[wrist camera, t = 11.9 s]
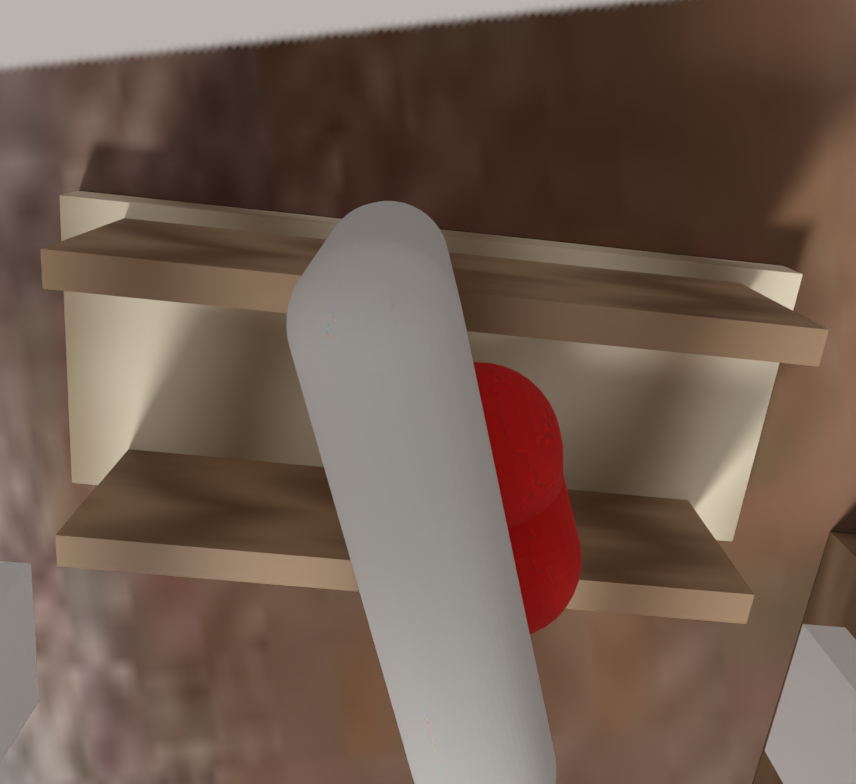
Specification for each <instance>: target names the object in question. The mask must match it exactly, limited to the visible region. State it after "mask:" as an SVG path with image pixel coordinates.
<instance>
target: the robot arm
mask: <svg viewBox="0 0 856 784" xmlns="http://www.w3.org/2000/svg"><path fill="white" fill-rule="evenodd" d="M38 702H39V692H38V675H37V658H36V641H35V625H34V608H33V591H32V574H31V564H29V563H16V562H3V561H0V762H1V760H2V759H3V757H4V756H5V754H6V752H7V751H8V749H9V748H10V746H11V745H12V743H13V741H14V740H15V738H16V737H17V735H18V733H19V732H20V730H21V729H22V727H23V726H24V724H25V722H26V721H27V719H28V718H29V716H30V714H31V713H32V711H33V710H34V708H35V707H36V705H37V703H38ZM765 752H766V754H767V756H768V758H769V759H770V761H771V763H772V765H773V766H774V768H775V770H776V772H777V773H778V775H779V777H780V779H781V780H782V782H783V784H856V639H855V638H854V637H853V636H852V635H851V634H850V632H849V631H848V630H847V629H846V628H845V627H834V626H821V625H809V624H803V625H802V628H801V632H800V635H799V638H798V641H797V645H796V648H795V651H794V655H793V658H792V661H791V665H790V668H789V671H788V675H787V678H786V681H785V685H784V688H783V691H782V695H781V698H780V701H779V704H778V708H777V711H776V714H775V718H774V721H773V724H772V728H771V731H770V734H769V738H768V741H767V744H766V748H765Z"/></svg>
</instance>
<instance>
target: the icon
mask: <svg viewBox="0 0 856 784" xmlns="http://www.w3.org/2000/svg"><path fill="white" fill-rule="evenodd" d="M286 328H287V338H288V343H289V347H290V350H291V354H292V357H293V361H294V364H295V368H296V371H297V375H298V378H299V382H300V385H301V389H302V392H303V396H304V399H305V403H306V406H307V410H308V413H309V417H310V420H311V424H312V427H313V431H314V434H315V438H316V441H317V445H318V448H319V452H320V455H321V459H322V462H323V466H324V469H325V473H326V476H327V480H328V483H329V486H330V490H331V493H332V497H333V500H334V504H335V507H336V511H337V514H338V518H339V521H340V525H341V528H342V532H343V535H344V539H345V542H346V546H347V549H348V553H349V556H350V560H351V563H352V567H353V570H354V574H355V577H356V581H357V584H358V588H359V591H360V595H361V598H362V602H363V605H364V609H365V612H366V616H367V619H368V623H369V626H370V630H371V633H372V637H373V640H374V644H375V647H376V651H377V654H378V658H379V661H380V665H381V668H382V671H383V675H384V678H385V682H386V685H387V689H388V692H389V696H390V699H391V703H392V706H393V710H394V713H395V717H396V720H397V724H398V727H399V731H400V734H401V738H402V741H403V745H404V748H405V752H406V755H407V759H408V762H409V766H410V769H411V773H412V776H413V780H414V783H415V784H555V783H556V759H555V753H554V749H553V744H552V739H551V734H550V729H549V725H548V720H547V715H546V710H545V705H544V701H543V696H542V691H541V686H540V681H539V676H538V672H537V667H536V662H535V657H534V652H533V648H532V643H531V638H530V634H532V633H534V632H536V631H538V630H540V629H542V628H544V627H546V626H547V625H548V624H550V623H551V622H552V621H554V620H555V619H556V618H557V617H558V616H559V615H560V614H561V613H562V612H563V611H564V609H565V608H566V607H567V605H568V604H569V602H570V600H571V599H572V597H573V595H574V593H575V590H576V588H577V585H578V583H579V578H580V573H581V559H582V553H581V546H580V541H579V537H578V532H577V528H576V524H575V520H574V516H573V512H572V508H571V504H570V499H569V495H568V491H567V487H566V483H565V479H564V474H563V442H562V437H561V432H560V428H559V424H558V420H557V417H556V414H555V412H554V410H553V408H552V406H551V404H550V402H549V401H548V400H547V398H546V397H545V396H544V394H543V393H542V391H541V390H540V389H539V388H538V387H537V386H536V385H535V384H534V383H533V382H532V381H530V380H529V379H528V378H526V377H525V376H523V375H522V374H520V373H519V372H517V371H515V370H512V369H510V368H508V367H505V366H502V365H497V364H493V363H484V362H473V359H472V354H471V349H470V344H469V340H468V335H467V330H466V325H465V320H464V316H463V311H462V306H461V302H460V298H459V294H458V289H457V285H456V281H455V277H454V273H453V269H452V264H451V260H450V256H449V252H448V248H447V244H446V241H445V239H444V236H443V234H442V233H441V231H440V229H439V228H438V226H437V225H436V224H435V222H434V221H433V220H432V219H431V218H430V217H429V216H428V215H426V214H425V213H424V212H422V211H421V210H419V209H418V208H416V207H414V206H411V205H409V204H406V203H402V202H397V201H380V202H374V203H370V204H366V205H363V206H361V207H359V208H357V209H355V210H353V211H351V212H350V213H349V214H347V215H346V216H345V217H344V218H342V219H341V220H340V222H339V223H338V224H337V225H336V226H335V228H334V229H333V231H332V232H331V234H330V235H329V236H328V238H327V239H326V241H325V242H324V244H323V245H322V247H321V248H320V249H319V251H318V252H317V254H316V255H315V257H314V258H313V260H312V261H311V263H310V264H309V265H308V267H307V268H306V270H305V271H304V273H303V274H302V276H301V277H300V279H299V280H298V282H297V284H296V286H295V288H294V290H293V292H292V295H291V298H290V301H289V305H288V310H287V321H286Z"/></svg>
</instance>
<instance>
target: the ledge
mask: <svg viewBox="0 0 856 784" xmlns="http://www.w3.org/2000/svg"><path fill="white" fill-rule="evenodd" d="M59 196H60V219H61V241H60V242H58V243H55V244H52V245H50V246H47V247H44V248H41V268H42V287H43V289H50V290H60V291H64V310H65V333H66V356H67V379H68V401H69V424H70V447H71V470H72V483H81V484H92V485H98V486H97V487H96V488H95V489H94V490H93V492H92V493H91V494H90V495H89V496H88V497H87V499H86V500H85V501H84V502H83V503H82V505H81V506H80V507H79V508H78V509H77V510H76V512H75V513H74V514H73V515H72V516H71V518H70V519H69V520H68V521H67V522H66V523H65V525H64V526H63V527H62V528H61V529H60V530H59V532H58V533H57V534H56V553H57V566H61V567H72V568H84V569H96V570H108V571H120V572H132V573H144V574H156V575H168V576H180V577H192V578H204V579H216V580H228V581H240V582H252V583H264V584H276V585H288V586H300V587H312V588H324V589H336V590H348V591H359V588H358V584H357V581H356V577H355V574H354V570H353V567H352V563H351V560H350V556H349V553H348V549H347V546H346V542H345V539H344V535H343V532H342V528H341V525H340V521H339V518H338V514H337V511H336V507H335V504H334V500H333V497H332V493H331V490H330V486H329V483H328V480H327V476H326V473H325V469H324V466H323V462H322V459H321V455H320V452H319V448H318V445H317V441H316V438H315V434H314V431H313V427H312V424H311V420H310V417H309V413H308V410H307V406H306V403H305V399H304V396H303V392H302V389H301V385H300V382H299V378H298V375H297V371H296V368H295V364H294V361H293V357H292V354H291V350H290V347H289V343H288V338H287V328H286V321H287V310H288V305H289V301H290V298H291V295H292V292H293V290H294V288H295V286H296V284H297V282H298V280H299V279H300V277H301V276H302V274H303V273H304V271H305V270H306V268H307V267H308V265H309V264H310V263H311V261H312V260H313V258H314V257H315V255H316V254H317V252H318V251H319V249H320V248H321V247H322V245H323V244H324V242H325V241H326V239H327V238H328V236H329V235H330V234H331V232H332V231H333V229H334V228H335V226H336V225H337V224H338V223H339V222H340V220H341V219H339V218H330V217H320V216H311V215H302V214H292V213H283V212H274V211H264V210H255V209H245V208H236V207H227V206H217V205H208V204H198V203H189V202H180V201H170V200H161V199H151V198H142V197H133V196H123V195H114V194H105V193H95V192H86V191H75V192H71V193H67V194H62V195H59ZM440 231H441V233H442V234H443V236H444V239H445V241H446V244H447V248H448V252H449V256H450V260H451V264H452V269H453V273H454V277H455V281H456V285H457V289H458V294H459V298H460V302H461V306H462V311H463V316H464V320H465V325H466V330H467V335H468V340H469V344H470V349H471V354H472V359H473V362H484V363H493V364H497V365H502V366H505V367H508V368H510V369H512V370H515V371H517V372H519V373H520V374H522V375H523V376H525V377H526V378H528V379H529V380H530V381H532V382H533V383H534V384H535V385H536V386H537V387H538V388H539V389H540V390H541V391H542V393H543V394H544V396H545V397H546V398H547V400H548V401H549V402H550V404H551V406H552V408H553V410H554V412H555V414H556V417H557V420H558V424H559V428H560V432H561V437H562V442H563V474H564V479H565V483H566V487H567V491H568V495H569V499H570V504H571V508H572V512H573V516H574V520H575V524H576V528H577V532H578V537H579V541H580V546H581V553H582V559H581V573H580V578H579V583H578V585H577V588H576V590H575V593H574V595H573V597H572V599H571V600H570V602H569V604H568V605H567V607H566V608H565V609H575V610H587V611H599V612H611V613H623V614H635V615H647V616H659V617H671V618H683V619H695V620H707V621H719V622H731V623H743V624H746V623H747V619H748V616H749V612H750V609H751V605H752V602H753V598H754V594H753V592H752V591H751V589H750V588H749V586H748V585H747V584H746V582H745V581H744V579H743V578H742V576H741V575H740V574H739V572H738V571H737V569H736V568H735V566H734V565H733V564H732V562H731V561H730V559H729V558H728V556H727V555H726V554H725V552H724V551H723V549H722V548H721V546H720V545H719V544H718V542H717V541H716V540H723V541H733V537H734V533H735V529H736V525H737V522H738V518H739V514H740V510H741V506H742V503H743V499H744V495H745V491H746V488H747V484H748V480H749V476H750V472H751V469H752V465H753V461H754V457H755V453H756V450H757V446H758V442H759V438H760V435H761V431H762V427H763V423H764V419H765V416H766V412H767V408H768V404H769V400H770V397H771V393H772V389H773V385H774V382H775V378H776V374H777V370H778V366H779V363H788V364H798V365H808V366H818V367H819V364H820V360H821V357H822V353H823V349H824V346H825V342H826V339H827V335H828V332H829V330H828V329H826V328H825V327H823V326H821V325H819V324H817V323H815V322H813V321H811V320H809V319H808V318H806V317H804V316H802V315H800V314H798V313H796V312H794V311H793V310H794V306H795V302H796V298H797V294H798V291H799V287H800V283H801V279H802V275H803V274H801V273H799V272H797V271H794V270H792V269H790V268H787V267H785V266H780V265H771V264H762V263H752V262H743V261H734V260H724V259H715V258H705V257H696V256H687V255H677V254H668V253H658V252H649V251H640V250H630V249H621V248H611V247H602V246H593V245H583V244H574V243H565V242H555V241H546V240H536V239H527V238H518V237H508V236H499V235H489V234H480V233H471V232H461V231H452V230H442V229H440Z"/></svg>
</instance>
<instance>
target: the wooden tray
mask: <svg viewBox="0 0 856 784" xmlns="http://www.w3.org/2000/svg"><path fill="white" fill-rule="evenodd" d="M803 624H809V625H821V626H834V627H845V628H846V629H847V630H848V631H849V632H850V634H851V635H852V636H853V637H854V638H855V639H856V534H850V533H839V532H830V535H829V538H828V541H827V545H826V548H825V551H824V554H823V558H822V561H821V564H820V567H819V570H818V574H817V577H816V580H815V583H814V587H813V590H812V593H811V596H810V600H809V603H808V606H807V609H806V613H805V616H804V619H803V622H802V625H803ZM801 628H802V626H801ZM800 632H801V629H800ZM800 632H799V635H800ZM799 635H798V638H799ZM797 641H798V639H797ZM796 645H797V642H796ZM796 645H795V648H796ZM795 648H794V651H795ZM794 651H793V655H794ZM793 655H792V658H793ZM792 658H791V661H792ZM791 661H790V664H789V668H790V665H791ZM789 668H788V671H789ZM788 671H787V674H786V677H785V681H786V678H787V675H788ZM785 681H784V684H783V687H782V690H781V694H780V697H779V700H778V703H777V707H776V710H775V713H774V716H773V719H772V723H771V726H770V729H769V732H768V736H767V739H766V742H765V745H764V749H763V752H762V755H761V758H760V762H759V765H758V768H757V771H756V775H755V778H754V781H753V784H783V782H782V780H781V779H780V777H779V775H778V773H777V772H776V770H775V768H774V766H773V765H772V763H771V761H770V759H769V758H768V756H767V754H766V752H765V748H766V744H767V741H768V738H769V734H770V731H771V728H772V724H773V721H774V718H775V714H776V711H777V708H778V704H779V701H780V698H781V695H782V691H783V688H784V685H785Z"/></svg>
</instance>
